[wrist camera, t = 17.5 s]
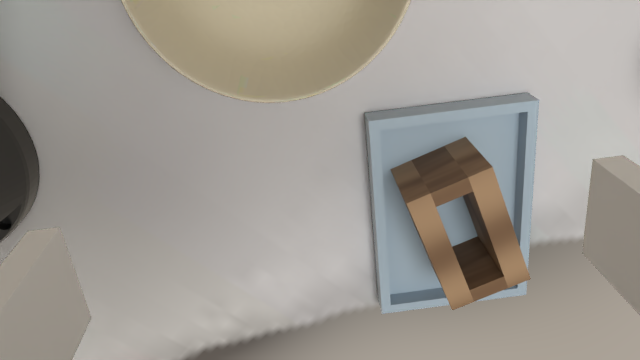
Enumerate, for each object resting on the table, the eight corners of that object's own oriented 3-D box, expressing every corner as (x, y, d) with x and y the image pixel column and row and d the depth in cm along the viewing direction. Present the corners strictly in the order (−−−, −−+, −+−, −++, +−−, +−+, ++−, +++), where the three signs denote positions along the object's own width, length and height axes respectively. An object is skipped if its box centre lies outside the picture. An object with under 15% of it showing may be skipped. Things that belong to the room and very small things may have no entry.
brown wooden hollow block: (390, 169, 44) (406, 203, 39) (465, 136, 44) (492, 166, 38) (438, 282, 49) (459, 326, 44) (507, 254, 49) (536, 296, 43)
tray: (378, 299, 50) (382, 313, 49) (364, 112, 43) (368, 121, 41) (517, 281, 51) (526, 294, 49) (527, 92, 43) (539, 100, 41)
